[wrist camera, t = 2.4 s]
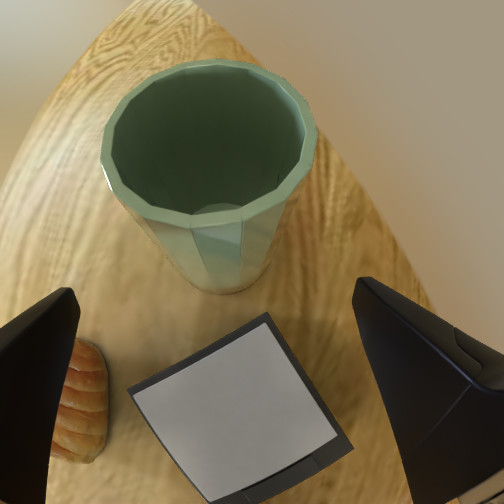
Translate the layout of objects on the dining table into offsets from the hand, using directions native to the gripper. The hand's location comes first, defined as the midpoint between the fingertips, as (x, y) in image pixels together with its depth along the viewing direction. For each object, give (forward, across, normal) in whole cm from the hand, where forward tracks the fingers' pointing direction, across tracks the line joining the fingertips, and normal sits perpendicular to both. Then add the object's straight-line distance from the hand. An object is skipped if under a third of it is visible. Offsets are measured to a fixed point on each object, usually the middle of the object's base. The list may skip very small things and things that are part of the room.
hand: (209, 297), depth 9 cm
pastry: (+3, +12, +13) cm, 18 cm away
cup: (+12, 0, +5) cm, 12 cm away
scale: (+3, -1, +13) cm, 13 cm away
